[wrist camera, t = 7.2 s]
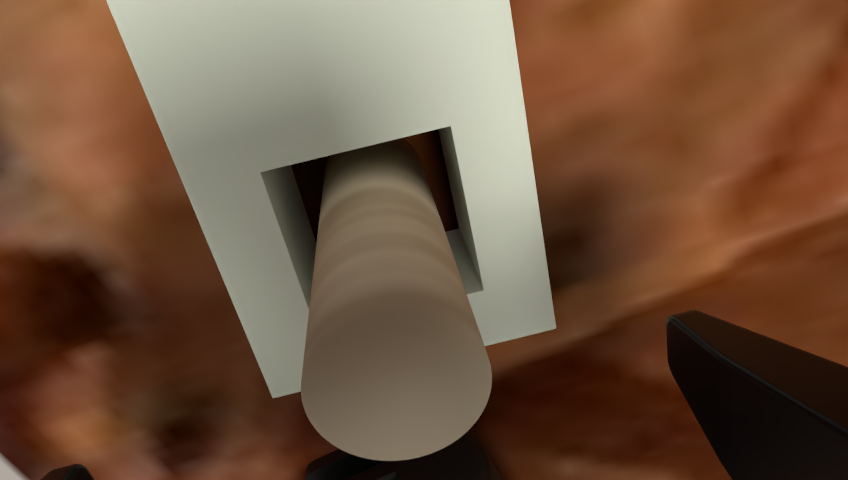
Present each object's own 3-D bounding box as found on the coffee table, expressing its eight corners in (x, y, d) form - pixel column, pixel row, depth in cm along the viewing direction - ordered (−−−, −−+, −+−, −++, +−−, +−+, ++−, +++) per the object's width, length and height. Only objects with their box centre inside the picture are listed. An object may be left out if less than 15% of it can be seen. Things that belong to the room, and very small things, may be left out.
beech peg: (432, 210, 19) (505, 436, 10) (339, 233, 19) (331, 479, 10) (411, 119, 18) (473, 285, 9) (312, 143, 18) (274, 333, 9)
